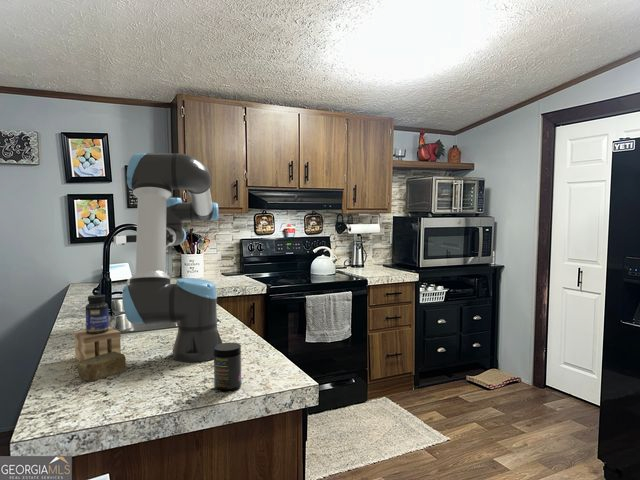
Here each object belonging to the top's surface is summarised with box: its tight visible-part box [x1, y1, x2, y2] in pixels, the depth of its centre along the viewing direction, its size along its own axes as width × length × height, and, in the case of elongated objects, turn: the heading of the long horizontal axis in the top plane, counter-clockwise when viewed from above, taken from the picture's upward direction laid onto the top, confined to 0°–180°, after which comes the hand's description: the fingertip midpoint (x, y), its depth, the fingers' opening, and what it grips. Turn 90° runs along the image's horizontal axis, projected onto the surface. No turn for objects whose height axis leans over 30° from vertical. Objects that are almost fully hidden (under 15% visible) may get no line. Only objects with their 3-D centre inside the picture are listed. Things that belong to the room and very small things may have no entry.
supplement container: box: [213, 342, 243, 393], centre depth 108 cm, size 7×7×10 cm
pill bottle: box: [85, 294, 109, 334], centre depth 131 cm, size 6×6×11 cm
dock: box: [73, 327, 122, 362], centre depth 132 cm, size 10×10×8 cm
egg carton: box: [108, 314, 117, 329], centre depth 171 cm, size 11×8×4 cm
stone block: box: [76, 351, 127, 382], centre depth 118 cm, size 6×12×5 cm, turn 148°
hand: (133, 240), depth 147 cm, fingers open, 13 cm apart
